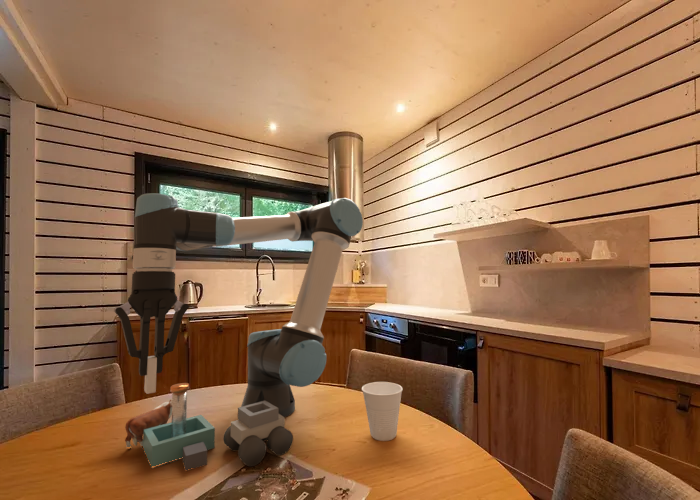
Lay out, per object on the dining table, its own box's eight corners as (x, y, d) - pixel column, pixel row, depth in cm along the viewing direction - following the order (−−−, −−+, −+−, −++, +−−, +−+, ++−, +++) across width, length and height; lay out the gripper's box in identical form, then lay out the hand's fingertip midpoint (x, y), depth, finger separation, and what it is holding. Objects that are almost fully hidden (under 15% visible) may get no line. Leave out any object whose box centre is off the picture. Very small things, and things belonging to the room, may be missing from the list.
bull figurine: (184, 430, 84) (185, 397, 85) (129, 455, 72) (130, 416, 73) (173, 427, 86) (174, 395, 87) (117, 451, 74) (119, 413, 75)
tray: (142, 449, 74) (143, 429, 75) (200, 432, 82) (201, 414, 83) (151, 468, 66) (152, 446, 67) (214, 447, 74) (214, 427, 75)
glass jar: (167, 444, 75) (168, 385, 76) (185, 439, 77) (186, 382, 78) (171, 451, 72) (172, 389, 73) (189, 445, 74) (191, 385, 76)
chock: (182, 462, 69) (182, 447, 69) (203, 456, 71) (203, 441, 72) (185, 471, 65) (185, 456, 66) (207, 465, 68) (207, 450, 68)
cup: (403, 447, 73) (401, 395, 74) (359, 444, 75) (358, 393, 76) (405, 427, 82) (403, 382, 84) (366, 425, 84) (365, 381, 86)
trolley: (242, 470, 65) (243, 422, 66) (223, 450, 73) (223, 407, 74) (292, 450, 73) (292, 407, 73) (270, 433, 81) (270, 395, 82)
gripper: (117, 269, 60) (110, 405, 57) (194, 270, 68) (191, 388, 66) (113, 271, 65) (106, 394, 63) (184, 271, 74) (181, 380, 71)
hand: (149, 391), depth 64 cm, fingers closed
